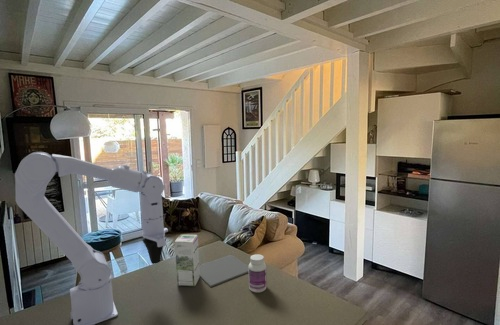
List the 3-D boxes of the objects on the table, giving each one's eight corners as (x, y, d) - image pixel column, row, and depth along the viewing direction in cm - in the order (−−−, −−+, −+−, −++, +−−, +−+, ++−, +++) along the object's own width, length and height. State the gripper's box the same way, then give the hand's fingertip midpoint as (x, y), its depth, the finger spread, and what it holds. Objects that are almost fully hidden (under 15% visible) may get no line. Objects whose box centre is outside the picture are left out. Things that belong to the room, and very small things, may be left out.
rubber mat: (210, 287, 82) (210, 285, 82) (191, 268, 93) (191, 267, 93) (253, 270, 91) (253, 268, 91) (231, 255, 102) (231, 254, 102)
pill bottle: (269, 290, 79) (269, 259, 78) (252, 295, 77) (252, 262, 76) (262, 281, 84) (261, 251, 83) (246, 285, 82) (245, 254, 81)
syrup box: (200, 276, 88) (198, 233, 86) (194, 287, 82) (192, 241, 80) (183, 276, 88) (180, 233, 87) (176, 286, 82) (173, 240, 81)
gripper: (175, 220, 73) (178, 267, 75) (158, 208, 85) (161, 249, 86) (148, 225, 69) (152, 276, 71) (134, 212, 81) (138, 256, 82)
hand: (155, 262), depth 78 cm, fingers closed
